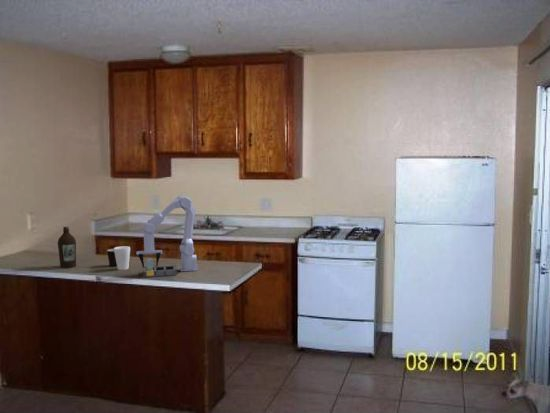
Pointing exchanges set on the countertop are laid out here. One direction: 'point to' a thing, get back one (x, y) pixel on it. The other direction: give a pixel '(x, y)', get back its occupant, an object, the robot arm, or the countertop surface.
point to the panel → (150, 264)
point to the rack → (160, 271)
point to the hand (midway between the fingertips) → (150, 266)
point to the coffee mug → (112, 258)
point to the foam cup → (122, 257)
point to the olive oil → (67, 249)
